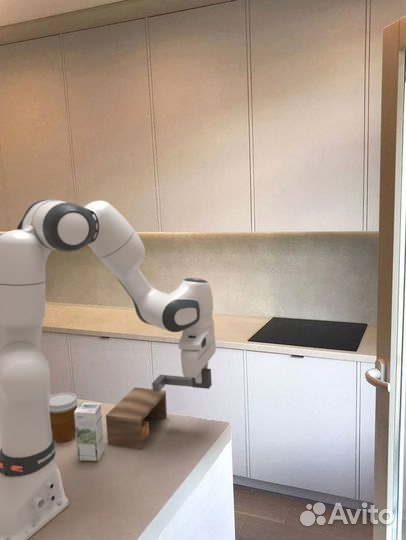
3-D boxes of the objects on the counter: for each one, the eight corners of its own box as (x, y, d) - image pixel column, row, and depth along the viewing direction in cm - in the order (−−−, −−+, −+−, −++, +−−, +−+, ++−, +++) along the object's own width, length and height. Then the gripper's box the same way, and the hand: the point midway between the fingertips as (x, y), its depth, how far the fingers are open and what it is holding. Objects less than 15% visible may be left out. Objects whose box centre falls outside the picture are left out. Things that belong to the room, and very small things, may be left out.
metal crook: (204, 396, 135) (203, 379, 134) (152, 391, 140) (151, 374, 139) (211, 384, 142) (210, 368, 141) (162, 380, 147) (161, 365, 146)
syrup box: (104, 450, 136) (101, 401, 133) (98, 462, 130) (94, 412, 127) (85, 449, 136) (81, 401, 134) (77, 462, 131) (73, 411, 128)
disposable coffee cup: (40, 442, 141) (37, 404, 139) (60, 426, 150) (57, 390, 147) (69, 447, 138) (65, 408, 135) (87, 431, 147) (84, 393, 144)
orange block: (143, 440, 140) (142, 428, 140) (130, 439, 142) (130, 426, 141) (149, 433, 144) (148, 421, 143) (136, 432, 145) (136, 419, 145)
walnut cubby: (141, 449, 136) (139, 419, 134) (107, 444, 139) (105, 415, 137) (166, 417, 153) (165, 390, 152) (136, 413, 157) (134, 387, 155)
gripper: (199, 322, 149) (202, 364, 152) (175, 345, 130) (179, 393, 133) (219, 323, 147) (221, 366, 150) (198, 347, 128) (201, 395, 131)
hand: (201, 379), depth 141 cm, fingers closed on metal crook, 3 cm apart
